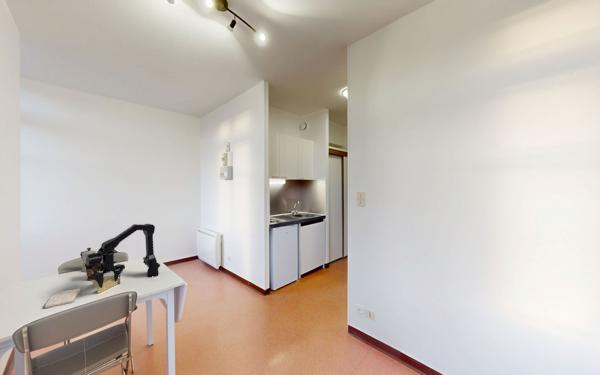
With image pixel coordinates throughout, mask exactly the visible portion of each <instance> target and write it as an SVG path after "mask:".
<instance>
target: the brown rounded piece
mask: <svg viewBox="0 0 600 375" xmlns="http://www.w3.org/2000/svg"><path fill="white" fill-rule="evenodd" d="M101 263H102V261H101V262H100V263H97V264H93V265H89V266H87V264H85V266H86V272H85V274H86V277H87V279H86V280H87V281H93V280H92V279H90V275H91V274H93V273H96V272H95V271H94V272H93V271H92V267H94V266H100V264H101ZM97 272H99V273H100V271H97Z"/></svg>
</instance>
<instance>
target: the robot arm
mask: <svg viewBox="0 0 600 375" xmlns="http://www.w3.org/2000/svg"><path fill="white" fill-rule="evenodd" d="M155 230H156V227H155V225H154V224H151V223H144V224H137V223H133V224H132V225H130V226H129V227H128V228H127V229H125V230H124V231H122V232H120V234H117V235H116V236H115V237H113V238H109V239H108V240H107V239H106V240H105V241H104V242H101V244H100V248H98V250H97V251H96V253H94V254H88V255H87V258H86V264H87V266H89V265H93V264H97V263H100V262H101V264H100V266H94V267H92V271H93V272H94V271H95V272H96V273H93V274H91V275H90V279H92V280H91V281H93V280H96V281H97V283H98V285H99V287H100V288H102V286H103V281H104V278H103V277H105V275H107V274H109V273H113V275H114V281H117V279H118V277H119V275H121V274H122V272H123V271H124V269H126V265H125V264H124V263H123V264H122V263H121V264H120V263H118V264H116V260H115V254H117V253H118V251H117V250H116V249H115V248H117V247H118V246H119V244H121V242H122V241H124V240H125V239H126V238H129V237H130V236H131V235H132V234H134V233H135V232H137V231H142V232H143V235H144V236H145V237H144V238H145V251H146V253H145V254H146V255H145V256H143V257H142V260H143V264H144V265H146V267H147V270H146V272H147V274H146V275H147V278H151V277H152V276H153V277H157V276H159V275H160V272H159V268H160V267H161V264H160V263H158V261H157V257H156V256H155V253H154V252H155V251H154V250H155V249H154V233H155ZM97 271H99V272H97Z"/></svg>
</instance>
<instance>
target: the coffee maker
mask: <svg viewBox="0 0 600 375" xmlns="http://www.w3.org/2000/svg"><path fill="white" fill-rule="evenodd" d="M86 249H87V250H84V251H81V252H80V258H81V260H82V261H83V263H82V268H81V272H82V273H86V266H85V264H86V258H87V255H88V254H94V253H97V251H96V250H92V247H88V248H86Z"/></svg>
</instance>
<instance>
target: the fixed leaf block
mask: <svg viewBox="0 0 600 375" xmlns="http://www.w3.org/2000/svg"><path fill="white" fill-rule="evenodd" d="M103 278H104V281H103V283H104V282H106V281H108V280H110V279H113V278H114V274H112V275H106V276H105V275H104V276H103ZM97 285H98V283H97V281H96V280H92V289H93V288H97Z"/></svg>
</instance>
